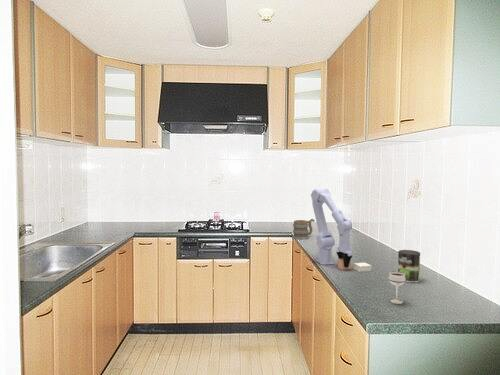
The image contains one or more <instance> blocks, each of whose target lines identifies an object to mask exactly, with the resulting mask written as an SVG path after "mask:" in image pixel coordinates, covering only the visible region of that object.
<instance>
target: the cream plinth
mask: <svg viewBox="0 0 500 375" xmlns="http://www.w3.org/2000/svg"><path fill="white" fill-rule="evenodd" d="M353 269H354V270H355V271H358V272H359V273H361V272H362V273H365V272H366V273H367V272H372V265H371V264H369V263H367V262H354V263H353Z"/></svg>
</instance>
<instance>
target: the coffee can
mask: <svg viewBox="0 0 500 375" xmlns="http://www.w3.org/2000/svg"><path fill="white" fill-rule="evenodd" d="M397 252H398V261H397V262H398V263H397V266H398V268H397V272H403V273H405V274H406V275H405V278H406V281H405V283H412V284H414V283H419V282H420V275H421V274H420V271H421V270H420V268H421V267H420V266H421V252H420V251H417V250H413V249H400V250H398V251H397Z"/></svg>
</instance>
